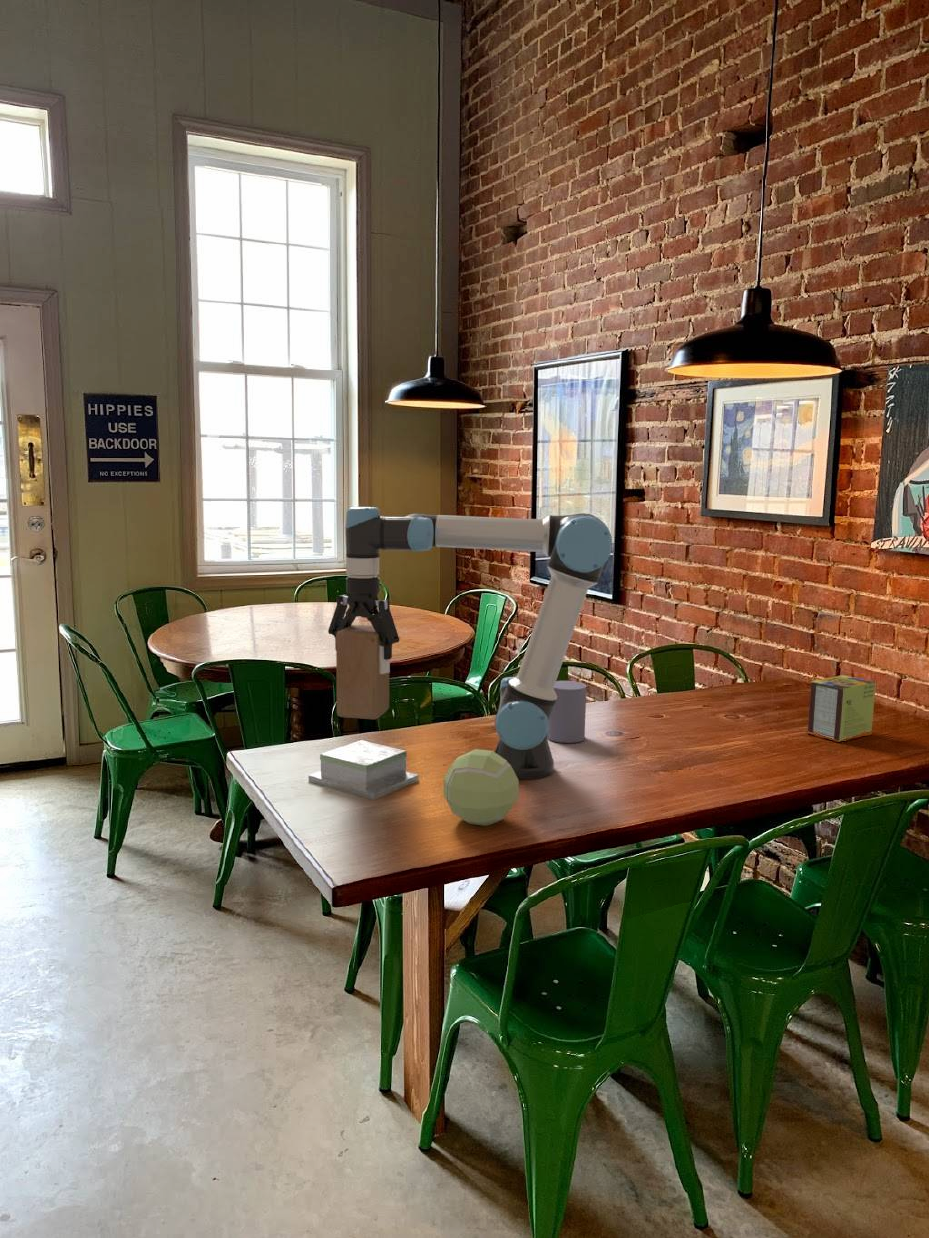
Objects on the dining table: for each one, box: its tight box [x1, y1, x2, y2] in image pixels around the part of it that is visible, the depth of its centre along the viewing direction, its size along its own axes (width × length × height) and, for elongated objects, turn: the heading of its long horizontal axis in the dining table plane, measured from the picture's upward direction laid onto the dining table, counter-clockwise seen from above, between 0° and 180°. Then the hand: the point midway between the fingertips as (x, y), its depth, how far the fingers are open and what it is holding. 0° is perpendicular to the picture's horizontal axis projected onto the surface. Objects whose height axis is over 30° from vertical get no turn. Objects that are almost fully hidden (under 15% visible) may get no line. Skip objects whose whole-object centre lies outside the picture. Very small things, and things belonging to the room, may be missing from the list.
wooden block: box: [335, 624, 390, 720], centre depth 214 cm, size 10×10×20 cm
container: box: [547, 680, 587, 744], centre depth 254 cm, size 10×10×15 cm
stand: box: [308, 739, 419, 801], centre depth 218 cm, size 20×16×7 cm
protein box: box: [807, 674, 877, 741], centre depth 261 cm, size 10×15×16 cm
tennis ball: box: [443, 748, 520, 827], centre depth 193 cm, size 15×15×15 cm
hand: (363, 669), depth 214 cm, fingers closed on wooden block, 12 cm apart
